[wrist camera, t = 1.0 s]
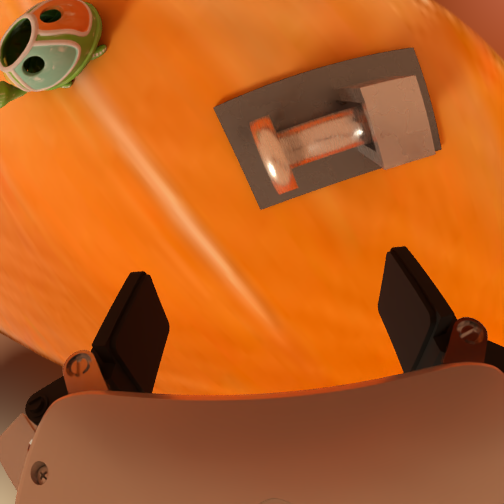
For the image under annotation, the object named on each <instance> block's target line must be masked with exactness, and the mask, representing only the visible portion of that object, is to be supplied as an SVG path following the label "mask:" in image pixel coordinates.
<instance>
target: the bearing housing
mask: <svg viewBox="0 0 504 504" xmlns="http://www.w3.org/2000/svg"><path fill="white" fill-rule="evenodd" d="M359 105H362V106H363V109H364V112H365V115H366V118H367V121H368V125H369V128H370V131H371V134H372V138H373V141H374V142H371V143H368V144H364V145H361V146H358V147H355V148H352V149H349V150H346V151H343V152H339V153H336V154H333V155H330V156H327V157H325V158H322V159H319V160H316V161H313V162H310V163H307V164H304V165H302V166H299V167H296V168H293V169H292V171H293V174H294V176H295V179H296V182H297V185H298V188H296V189H294V190H291V191H288V192H285V193H283V194H280V195H279V194H278V193H277V191H276V189H275V187H274V186H273V184H272V181H271V179H270V177H269V175H268V173H267V171H266V168H265V166H264V164H263V161H262V159H261V156H260V154H259V152H258V149H257V146H256V144H255V141H254V138H253V135H252V132H251V129H250V125H249V122H251V121H254V120H256V119H259V118H261V117H264V116H266V115H269V116H270V118H271V121H272V123H273V125H274V127H275V129H276V132H279V131H282V130H285V129H288V128H290V127H293V126H296V125H299V124H302V123H305V122H307V121H310V120H313V119H316V118H319V117H322V116H326V115H329V114H332V113H335V112H338V111H342V110H345V109H348V108H352V107H355V106H359ZM214 110H215V112H216V114H217V116H218V119H219V121H220V123H221V125H222V127H223V129H224V131H225V133H226V135H227V137H228V140H229V142H230V144H231V146H232V148H233V150H234V152H235V154H236V157H237V159H238V161H239V163H240V165H241V167H242V170H243V172H244V174H245V176H246V178H247V180H248V183H249V185H250V187H251V189H252V191H253V194H254V196H255V198H256V200H257V202H258V205H259V207H260V209H261V210H262V209H264V208H267V207H270V206H272V205H275V204H278V203H281V202H283V201H286V200H289V199H292V198H294V197H297V196H300V195H303V194H306V193H309V192H311V191H314V190H317V189H320V188H323V187H326V186H329V185H332V184H334V183H337V182H340V181H343V180H346V179H349V178H352V177H355V176H358V175H361V174H364V173H367V172H370V171H373V170H376V169H380V168H383V169H384V170H386V169H389V168H392V167H396V166H399V165H402V164H405V163H408V162H411V161H415V160H418V159H421V158H424V157H428V156H431V155H434V154H435V151H438V150H441V144H440V139H439V134H438V130H437V125H436V121H435V116H434V112H433V108H432V104H431V101H430V97H429V94H428V90H427V87H426V83H425V80H424V77H423V74H422V71H421V68H420V65H419V62H418V59H417V57H416V54H415V51H414V48H407V49H400V50H394V51H388V52H383V53H378V54H373V55H368V56H364V57H359V58H355V59H351V60H347V61H343V62H339V63H335V64H331V65H328V66H324V67H321V68H317V69H314V70H311V71H307V72H304V73H301V74H298V75H295V76H292V77H289V78H286V79H283V80H280V81H277V82H275V83H272V84H269V85H267V86H264V87H261V88H259V89H256V90H254V91H251V92H249V93H246V94H244V95H241V96H239V97H236V98H234V99H232V100H229V101H227V102H225V103H223V104H220V105H218V106H216V107H214Z"/></svg>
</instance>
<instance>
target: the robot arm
mask: <svg viewBox="0 0 504 504" xmlns="http://www.w3.org/2000/svg"><path fill="white" fill-rule="evenodd" d="M378 311H379V314H380V316H381V318H382V321H383V323H384V325H385V327H386V330H387V332H388V334H389V337H390V339H391V342H392V344H393V346H394V349H395V351H396V354H397V356H398V359H399V361H400V364H401V366H402V369H403V372H404V373H403V374H398V375H393V376H389V377H384V378H379V379H374V380H369V381H363V382H358V383H352V384H346V385H339V386H333V387H325V388H318V389H309V390H300V391H290V392H279V393H265V394H246V395H173V394H153V393H152V391H153V387H154V383H155V379H156V376H157V372H158V368H159V365H160V361H161V357H162V354H163V350H164V347H165V343H166V340H167V337H168V333H169V322H168V320H167V317H166V315H165V312H164V310H163V307H162V305H161V302H160V300H159V297H158V295H157V292H156V290H155V287H154V284H153V282H152V279H151V277H150V275H147V274H146V273H145V272H144V271H141V272H131V273H130V274H129V276H128V278H127V279H126V281H125V283H124V285H123V286H122V288H121V290H120V292H119V294H118V295H117V297H116V299H115V301H114V303H113V305H112V306H111V308H110V310H109V312H108V314H107V316H106V318H105V320H104V322H103V323H102V325H101V327H100V329H99V331H98V333H97V335H96V337H95V339H94V341H93V343H92V347H93V348H92V350H91V352H90V351H87V350H80V351H77V352H75V353H73V354H72V355H70V356H69V357H68V358H67V360H66V361H65V363H64V366H63V375H64V376H62V377H61V378H59V379H57V380H56V381H54V382H52V383H51V384H49V385H47V386H46V387H44V388H42V389H41V390H39V391H38V392H36V393H35V394H33V395H32V396H31V397H30V398H29V400H28V401H27V404H26V408H25V411H26V414H25V415H24V414H23V413H21V415H19V417H18V418H17V419H16V420H15V421H14V422H13V423H12V424H11V425H10V426H9V427H8V428H7V429H6V430H5V431H4V432H3V433H2V434H1V436H0V462H1V463H2V466H3V467H4V469H5V471H6V473H7V475H8V476H9V478H10V480H11V481H12V483H13V485H14V486H15V488H16V490H17V496H16V502H15V504H504V347H502V346H500V345H498V344H495V343H493V342H491V341H488V340H487V338H488V337H487V331H486V329H485V327H484V326H483V325H482V324H481V323H480V322H479V321H477V320H475V319H473V318H469V317H463V318H460V319H458V320H457V319H456V317H455V315H454V312H453V311H452V309H451V308H450V306H449V305H448V303H447V302H446V300H445V299H444V298H443V296H442V295H441V293H440V292H439V290H438V289H437V287H436V286H435V285H434V283H433V282H432V280H431V279H430V278H429V276H428V275H427V274H426V272H425V271H424V269H423V268H422V267H421V265H420V264H419V263H418V262H417V260H416V259H415V258H414V256H413V255H412V254H411V252H410V251H409V250H408V249H407V248H406V247H405V246H403V247H394V248H391V250H390V252H387V255H386V261H385V268H384V274H383V280H382V285H381V291H380V296H379V301H378Z"/></svg>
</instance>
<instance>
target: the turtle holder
mask: <svg viewBox="0 0 504 504" xmlns="http://www.w3.org/2000/svg"><path fill="white" fill-rule="evenodd" d="M101 33H102V20H101V17H100V15H99V13H98V11H97V10H96V8H95V7H94V6H93V5H92V4H90V3H87V2H83V1H82V0H46V1H43V2H40V3H38V4H36V5H35V6H33V7H32V8H30V9H29V10H28V11H27V12H26V13H25V14H23V15H22V16H20V17H19V18H18V19H17V20H16V21H15V22H14V23H13V24H12V25H11V26H10V27H9V29H8V30H7V31H6V33H5V34H4V36H3V37H2V39H1V41H0V69H1V71H2V72H3V74H4V76H5V78H6V80H7V81H8V82H9V83H11V84H8V83H6V82H5V81H1V82H0V108H2V107H3V106H5V105H6V104H7V103H8V102H10V101H12V100H14V99H16V98H19V97H21V96H23V95H24V94H26V93H27V92H30V91H42V90H53V89H57V88H59V87H61V88H69V87H71V85H72V81H71V80H73V79H74V78H75V77H76V76H78V75H79V74H80V72H81V71H82V70H83V69H84V68H85V66H86V65H87V64H88V62H89V61H90V60H93V59H96V58H98V57H100V56H101V55H102V54H103V53H104V52H105V51H106V49H107V47H106V45H100V46H98V47H97V45H98V42H99V40H100V37H101ZM27 69H28V72H27Z"/></svg>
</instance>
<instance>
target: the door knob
mask: <svg viewBox="0 0 504 504" xmlns="http://www.w3.org/2000/svg"><path fill="white" fill-rule="evenodd" d="M249 125H250V129H251V132H252V135H253V138H254V141H255V144H256V146H257V149H258V152H259V154H260V156H261V159H262V161H263V164H264V166H265V168H266V171H267V173H268V175H269V177H270V179H271V181H272V184H273V186H274V187H275V189H276V191H277V193H278V194H279V195H280V194H283V193H285V192H288V191H291V190H294V189H296V188H298V185H297V182H296V179H295V176H294V174H293V171H292V169H293V168H296V167H299V166H302V165H304V164H307V163H310V162H313V161H316V160H319V159H322V158H325V157H327V156H330V155H333V154H336V153H339V152H343V151H346V150H349V149H352V148H355V147H358V146H361V145H364V144H368V143H371V142H374V141H373V138H372V134H371V131H370V128H369V125H368V121H367V118H366V115H365V112H364V109H363V106H362V105H359V106H355V107H352V108H348V109H345V110H342V111H338V112H335V113H332V114H329V115H326V116H322V117H319V118H316V119H313V120H310V121H307V122H305V123H302V124H299V125H296V126H293V127H290V128H288V129H285V130H282V131H279V132H276V129H275V127H274V125H273V123H272V121H271V118H270V116H269V115H266V116H264V117H261V118H259V119H256V120H254V121H251V122H249Z"/></svg>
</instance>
